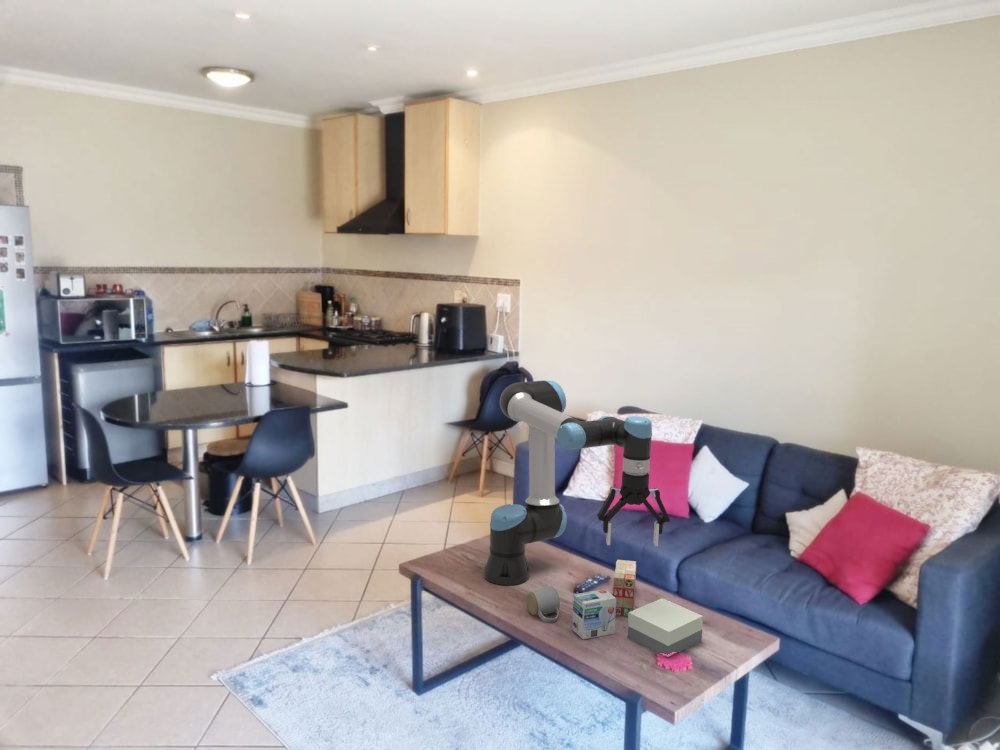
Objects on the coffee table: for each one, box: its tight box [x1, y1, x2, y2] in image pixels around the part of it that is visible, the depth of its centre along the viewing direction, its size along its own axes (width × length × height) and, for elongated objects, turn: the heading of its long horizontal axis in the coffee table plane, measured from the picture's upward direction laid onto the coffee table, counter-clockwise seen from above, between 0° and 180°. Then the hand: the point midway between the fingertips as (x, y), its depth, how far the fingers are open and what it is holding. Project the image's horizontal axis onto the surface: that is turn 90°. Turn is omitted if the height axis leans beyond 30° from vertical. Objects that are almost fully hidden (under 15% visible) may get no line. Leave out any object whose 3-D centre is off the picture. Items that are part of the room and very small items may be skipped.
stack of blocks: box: [612, 559, 637, 618], centre depth 232 cm, size 21×6×12 cm, turn 168°
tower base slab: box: [627, 625, 703, 655], centre depth 209 cm, size 14×15×4 cm
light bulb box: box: [571, 588, 616, 640], centre depth 212 cm, size 11×7×11 cm, turn 114°
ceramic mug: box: [526, 585, 561, 623], centre depth 222 cm, size 11×8×8 cm
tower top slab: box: [627, 598, 704, 646], centre depth 209 cm, size 14×15×4 cm
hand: (631, 544), depth 214 cm, fingers open, 13 cm apart
